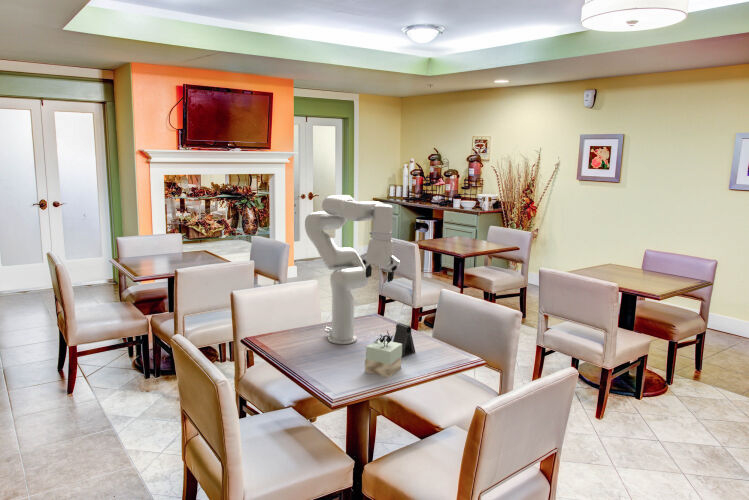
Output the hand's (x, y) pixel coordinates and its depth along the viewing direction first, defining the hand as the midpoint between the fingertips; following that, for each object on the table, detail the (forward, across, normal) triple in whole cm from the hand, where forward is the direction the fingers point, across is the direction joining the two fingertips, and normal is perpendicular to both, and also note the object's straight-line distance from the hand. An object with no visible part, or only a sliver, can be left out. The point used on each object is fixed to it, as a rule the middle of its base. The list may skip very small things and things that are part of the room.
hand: (379, 279), depth 213 cm
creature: (+22, +9, -12) cm, 27 cm away
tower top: (+27, +10, -11) cm, 30 cm away
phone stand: (+32, +8, +8) cm, 34 cm away
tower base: (+32, +10, -12) cm, 35 cm away
